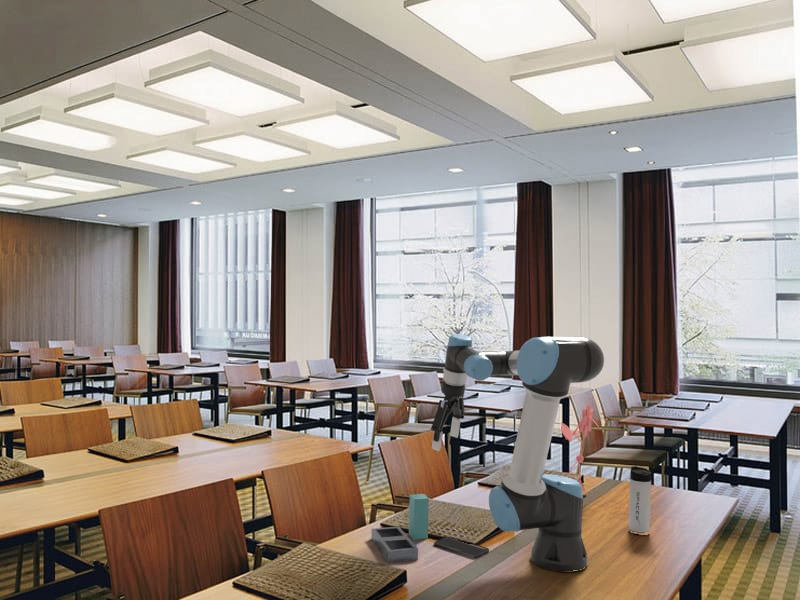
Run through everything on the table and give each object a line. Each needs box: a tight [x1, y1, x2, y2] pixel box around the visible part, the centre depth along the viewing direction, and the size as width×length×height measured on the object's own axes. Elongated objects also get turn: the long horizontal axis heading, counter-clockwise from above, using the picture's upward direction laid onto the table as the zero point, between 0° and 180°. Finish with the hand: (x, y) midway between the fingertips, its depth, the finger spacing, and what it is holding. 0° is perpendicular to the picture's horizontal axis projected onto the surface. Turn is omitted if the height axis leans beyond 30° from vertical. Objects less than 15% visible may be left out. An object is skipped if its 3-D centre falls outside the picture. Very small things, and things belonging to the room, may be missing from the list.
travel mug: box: [628, 465, 652, 533], centre depth 209 cm, size 6×7×20 cm
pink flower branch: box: [560, 403, 609, 507], centre depth 241 cm, size 15×26×35 cm, turn 145°
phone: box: [433, 536, 490, 560], centre depth 191 cm, size 8×1×15 cm
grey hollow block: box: [371, 526, 419, 563], centre depth 190 cm, size 18×8×3 cm, turn 17°
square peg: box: [408, 493, 430, 540], centre depth 200 cm, size 4×4×12 cm
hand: (445, 442), depth 218 cm, fingers open, 13 cm apart
